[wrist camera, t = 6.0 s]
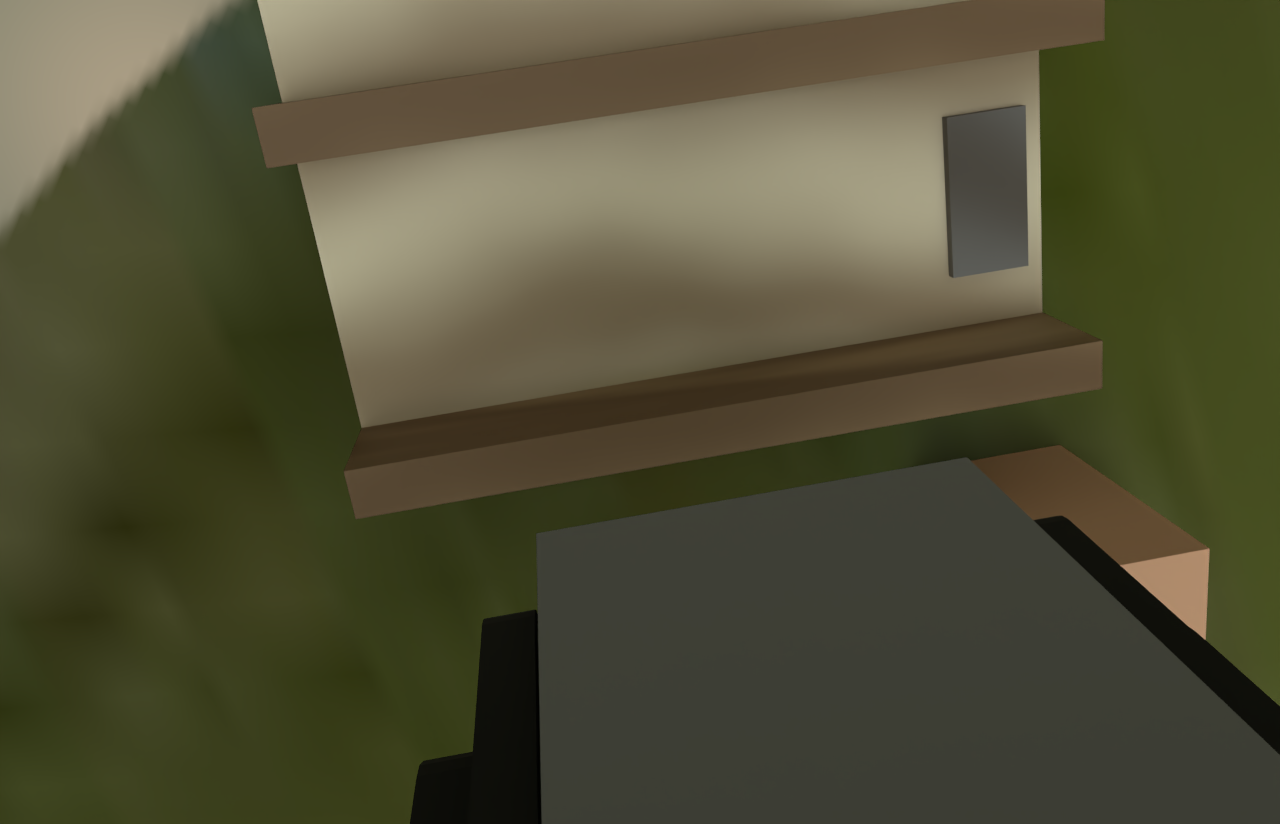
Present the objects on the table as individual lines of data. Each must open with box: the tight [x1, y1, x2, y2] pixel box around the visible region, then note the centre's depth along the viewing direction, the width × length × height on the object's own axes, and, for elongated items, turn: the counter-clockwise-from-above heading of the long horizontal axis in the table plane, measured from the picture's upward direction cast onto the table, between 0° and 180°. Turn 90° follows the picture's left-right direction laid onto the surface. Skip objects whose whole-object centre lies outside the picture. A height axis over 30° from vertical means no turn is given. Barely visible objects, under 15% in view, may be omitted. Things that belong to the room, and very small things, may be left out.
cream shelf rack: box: [252, 0, 1105, 519], centre depth 24 cm, size 18×18×4 cm
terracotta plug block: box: [971, 445, 1209, 640], centre depth 28 cm, size 4×4×7 cm
